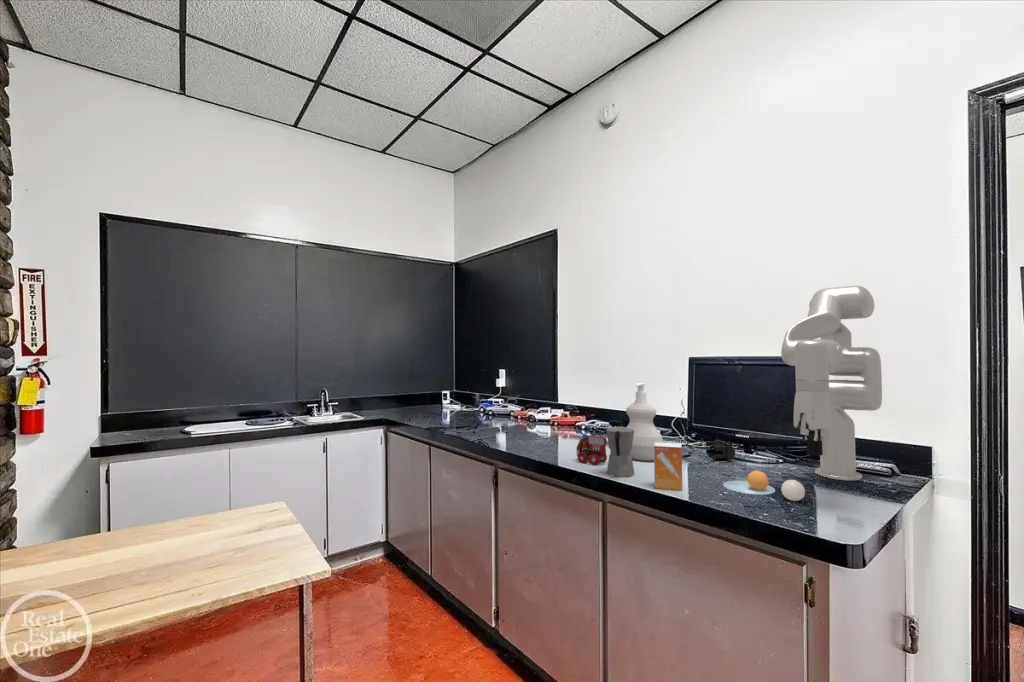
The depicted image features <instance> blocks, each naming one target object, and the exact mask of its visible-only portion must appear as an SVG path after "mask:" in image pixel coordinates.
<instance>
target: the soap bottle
mask: <svg viewBox="0 0 1024 682" xmlns="http://www.w3.org/2000/svg"><path fill="white" fill-rule="evenodd" d="M644 386H646V383H645V382H637V383H635V387H637V391H635V400H634V402H633V403H631V404H629V405H628V406H627V407H626V409H625V410H626V411H625V413H626V414H627V416H628V417H629V422H628V424H627V426H625V427H626V428H630V429H632V430H634V435H633V443H632V449H631V450H630V455H631V457H632V460H636V461H640V460H641V461H643V462H650V461H654V442H659V443H664V438H663V435H662V434H661V433H660V431H659V430H658V428H657V427H656V426H655V423H654V418H655V416H656V415H657V409H656V407H654V406H653V405H652V404H650V403H649V402H648V401H647V392H645V390H644V389H645V387H644Z"/></svg>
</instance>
